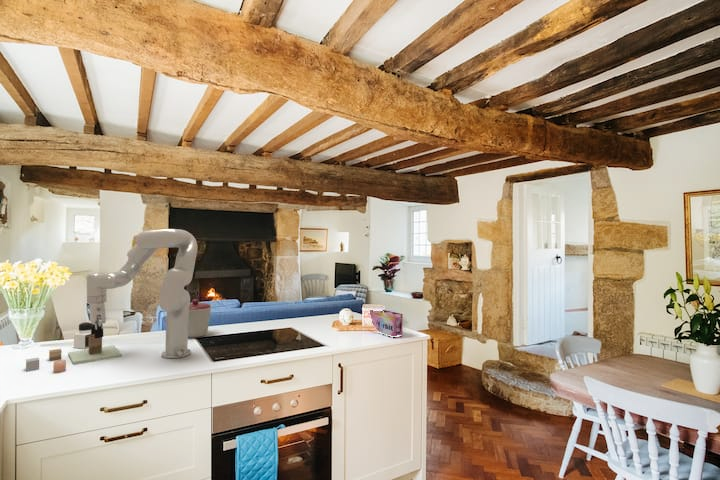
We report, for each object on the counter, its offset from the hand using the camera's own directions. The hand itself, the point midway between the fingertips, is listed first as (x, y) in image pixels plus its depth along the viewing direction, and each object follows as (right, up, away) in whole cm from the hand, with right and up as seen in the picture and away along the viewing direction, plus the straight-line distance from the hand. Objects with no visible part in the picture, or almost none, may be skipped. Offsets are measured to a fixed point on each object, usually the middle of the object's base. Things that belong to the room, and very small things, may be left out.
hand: (97, 335), depth 172 cm
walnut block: (-1, -8, 0) cm, 8 cm away
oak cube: (-15, -9, -6) cm, 18 cm away
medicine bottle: (-16, -9, +14) cm, 23 cm away
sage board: (-1, -9, 0) cm, 9 cm away
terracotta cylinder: (-1, -9, -21) cm, 23 cm away
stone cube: (-13, -9, -19) cm, 25 cm away
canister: (+28, -10, +39) cm, 49 cm away
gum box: (+139, -13, +53) cm, 149 cm away
